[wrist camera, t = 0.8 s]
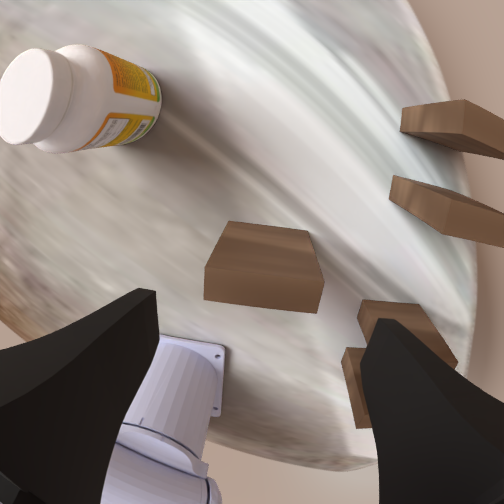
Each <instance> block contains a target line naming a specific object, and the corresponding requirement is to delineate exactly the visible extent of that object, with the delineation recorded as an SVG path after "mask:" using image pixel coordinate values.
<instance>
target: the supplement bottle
mask: <svg viewBox="0 0 504 504" xmlns="http://www.w3.org/2000/svg"><path fill="white" fill-rule="evenodd" d="M161 103H162V95H161V90H160V86H159V84H158V82H157V80H156V78H155V77H154V76H153V75H152V74H151V73H150V72H149V71H147V70H146V69H144V68H142V67H140V66H138V65H135V64H133V63H131V62H128V61H126V60H123V59H121V58H119V57H116V56H114V55H111V54H109V53H107V52H104V51H101V50H99V49H96V48H93V47H90V46H86V45H80V44H75V45H69V46H65V47H63V48H60V49H58V50H56V51H50V50H45V49H39V48H34V49H29V50H27V51H24V52H23V53H21V54H20V55H19V56H18V57H16V58H15V59H14V60H13V61H12V63H11V64H10V65H9V66H8V68H7V69H6V71H5V73H4V75H3V77H2V79H1V81H0V136H1V137H2V138H3V139H4V140H5V141H6V142H7V143H9V144H13V145H20V144H31V143H33V144H34V145H36V146H37V147H38V148H39V149H41V150H43V151H45V152H48V153H57V154H58V153H68V152H74V151H79V150H86V149H93V148H100V147H107V146H116V145H123V144H128V143H131V142H134V141H136V140H138V139H140V138H141V137H143V136H144V135H145V134H146V133H147V132H148V131H149V130H150V129H151V128H152V127H153V125H154V124H155V122H156V120H157V118H158V116H159V113H160V109H161Z"/></svg>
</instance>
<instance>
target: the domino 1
mask: <svg viewBox="0 0 504 504" xmlns="http://www.w3.org/2000/svg"><path fill="white" fill-rule="evenodd" d="M323 286H324V279H323V275H322V272H321V269H320V266H319V263H318V260H317V257H316V254H315V251H314V249H313V246H312V243H311V240H310V237H309V234H308V231H305V230H298V229H290V228H283V227H275V226H267V225H259V224H251V223H243V222H234V221H228V223H227V225H226V227H225V229H224V231H223V233H222V235H221V237H220V238H219V240H218V242H217V244H216V246H215V248H214V250H213V252H212V254H211V256H210V258H209V260H208V262H207V264H206V266H205V276H204V300H208V301H215V302H222V303H229V304H237V305H244V306H252V307H260V308H269V309H277V310H286V311H295V312H305V313H315V314H317V311H318V307H319V303H320V299H321V295H322V290H323Z"/></svg>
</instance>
